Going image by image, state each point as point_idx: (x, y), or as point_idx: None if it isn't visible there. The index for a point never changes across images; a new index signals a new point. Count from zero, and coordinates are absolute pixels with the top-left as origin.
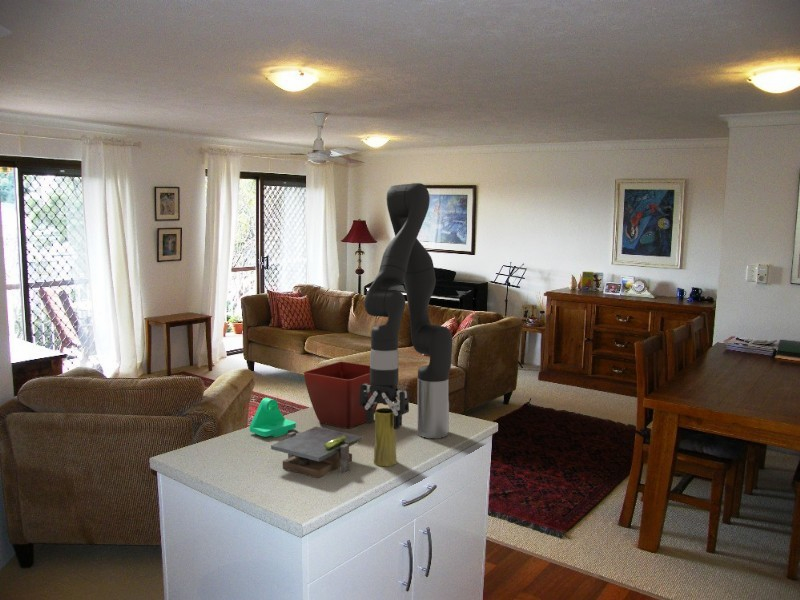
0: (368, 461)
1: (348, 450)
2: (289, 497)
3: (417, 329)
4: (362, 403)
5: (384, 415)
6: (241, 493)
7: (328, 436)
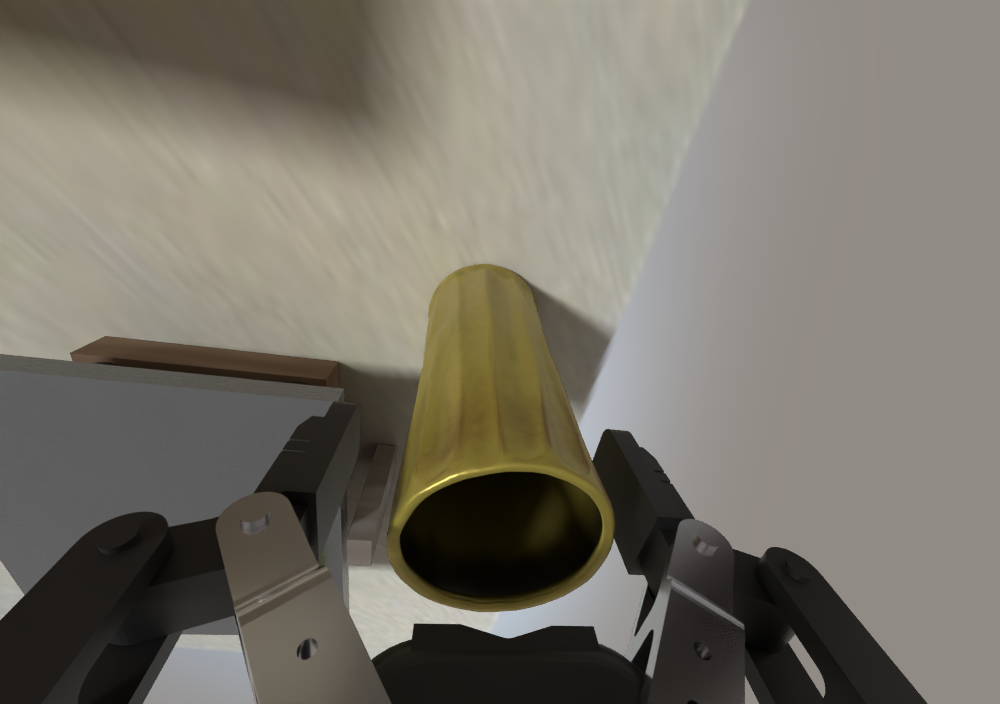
0: (406, 334)
1: (377, 519)
2: (363, 617)
3: None
4: (166, 644)
5: (536, 586)
6: (237, 643)
7: (155, 473)
